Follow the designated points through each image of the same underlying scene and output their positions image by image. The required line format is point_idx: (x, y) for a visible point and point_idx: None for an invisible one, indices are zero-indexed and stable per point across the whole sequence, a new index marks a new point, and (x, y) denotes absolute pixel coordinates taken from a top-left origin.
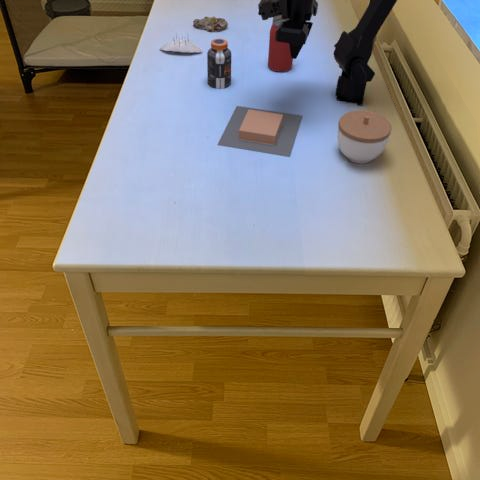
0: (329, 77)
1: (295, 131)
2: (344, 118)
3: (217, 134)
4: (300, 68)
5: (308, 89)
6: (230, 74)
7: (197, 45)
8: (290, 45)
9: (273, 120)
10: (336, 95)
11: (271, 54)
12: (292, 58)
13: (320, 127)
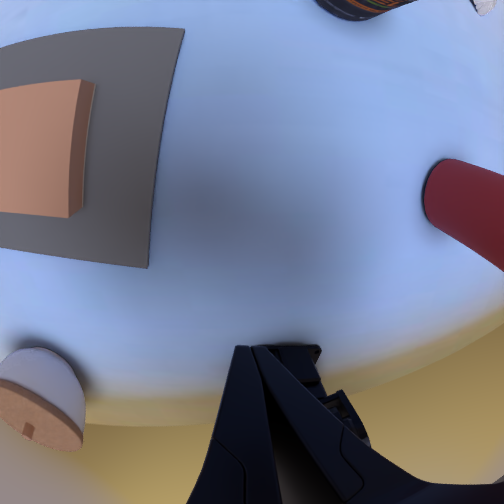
0: (380, 318)
1: (58, 250)
2: (17, 401)
3: (31, 27)
4: (431, 248)
5: (328, 275)
6: (358, 2)
7: (491, 9)
8: (210, 447)
9: (29, 189)
10: (278, 349)
11: (471, 174)
12: (234, 349)
13: (112, 311)
